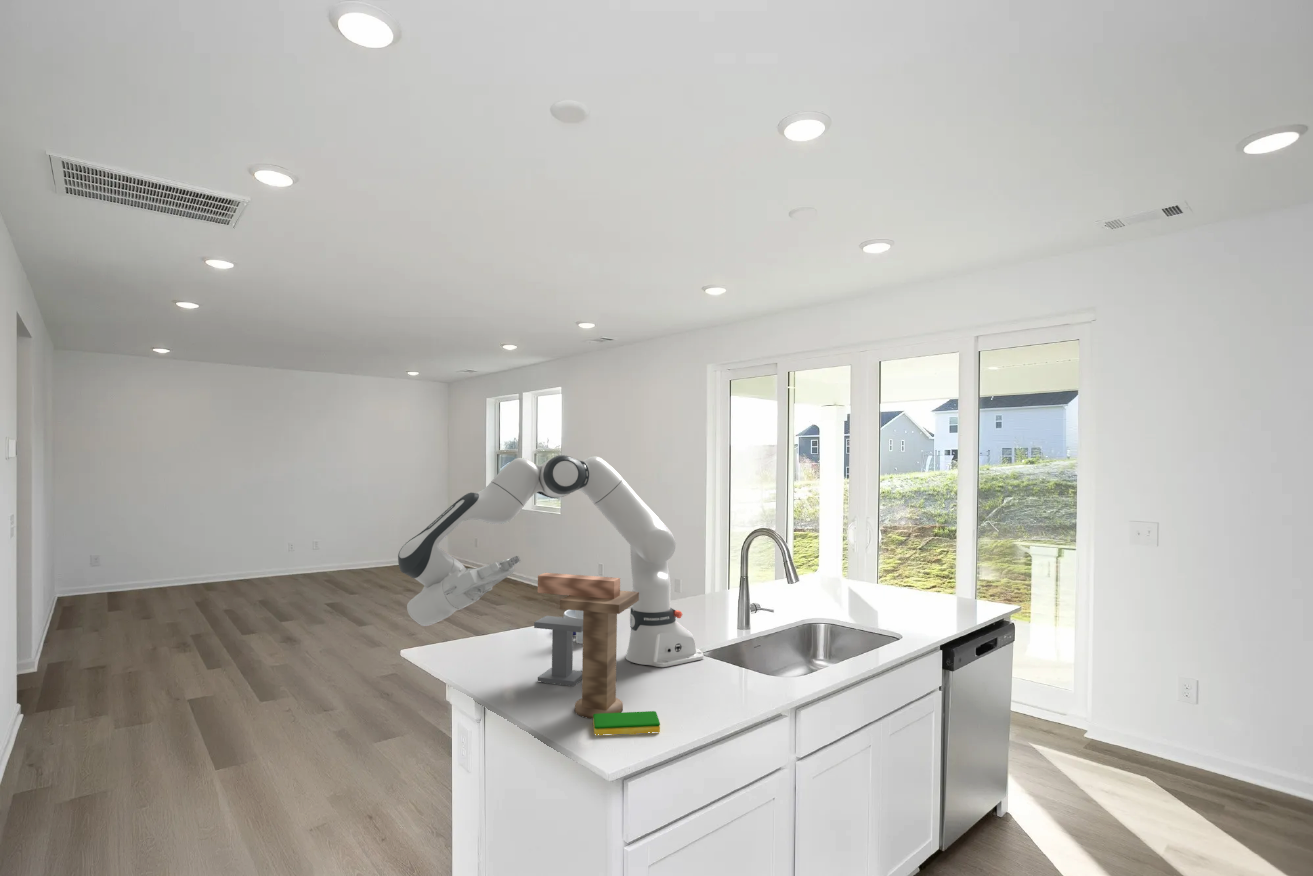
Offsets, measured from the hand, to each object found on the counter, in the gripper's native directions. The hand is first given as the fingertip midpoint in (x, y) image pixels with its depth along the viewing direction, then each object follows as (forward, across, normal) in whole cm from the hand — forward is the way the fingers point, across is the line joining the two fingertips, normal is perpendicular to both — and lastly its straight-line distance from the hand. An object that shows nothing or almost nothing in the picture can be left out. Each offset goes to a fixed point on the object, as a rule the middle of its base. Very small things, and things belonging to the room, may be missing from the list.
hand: (508, 561), depth 162 cm
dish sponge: (+12, -7, +45) cm, 47 cm away
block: (+13, 0, +15) cm, 19 cm away
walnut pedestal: (+4, 0, +40) cm, 40 cm away
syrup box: (-16, +50, +28) cm, 59 cm away
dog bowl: (-21, +62, +26) cm, 71 cm away
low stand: (-10, +16, +32) cm, 37 cm away
